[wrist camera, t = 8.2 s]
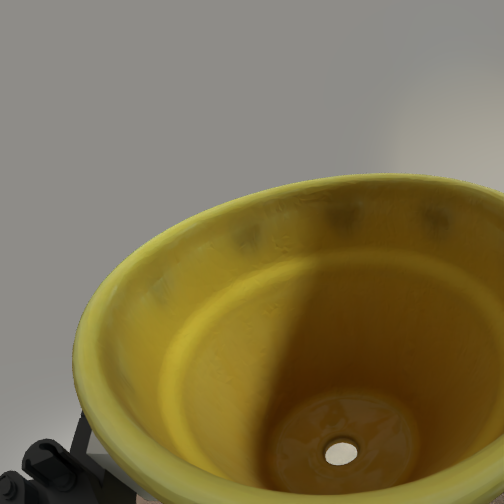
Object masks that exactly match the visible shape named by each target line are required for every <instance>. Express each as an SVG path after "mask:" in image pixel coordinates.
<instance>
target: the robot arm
mask: <svg viewBox="0 0 504 504" xmlns="http://www.w3.org/2000/svg"><path fill="white" fill-rule="evenodd" d="M22 470H23V471H24V472H25V473H27V474H28V475H29V476H31V477H32V478H33V480H26V479H25V478H23V477H22V476H21V475H20V474H19V473H17V472H16V471H7V472H4V473H3V474H2V475H1V476H0V504H136V495H137V494H138V495H139V496H141V497H142V498H144V499H145V500H147V501H158V500H157V499H156V498H154V497H153V496H152V495H150V494H149V493H148V492H146V491H145V490H144V489H143V488H141V487H140V486H139V485H138V484H137V483H136V482H135V481H134V480H132V479H131V478H130V477H129V476H128V475H127V474H126V473H125V472H124V471H123V470H122V469H121V468H120V467H119V466H118V465H117V464H116V463H115V461H114V460H113V459H112V458H111V456H110V455H109V454H108V452H107V451H106V450H105V448H104V447H103V446H102V444H101V443H100V442H99V440H98V439H97V437H96V436H95V435H94V433H93V431H92V429H91V427H90V425H89V423H88V421H87V418H86V416H85V414H84V412H83V410H82V413H81V418H80V419H79V422H78V425H77V428H76V431H75V435H74V438H73V441H72V445H71V448H70V453H69V452H68V451H66V450H65V449H64V448H63V447H62V446H61V445H60V444H59V443H57V442H56V441H55V440H52V439H43V440H39V441H37V442H35V443H34V444H33V445H31V446H30V447H29V449H28V450H27V451H26V452H25V455H24V457H23V460H22Z"/></svg>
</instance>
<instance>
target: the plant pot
mask: <svg viewBox="0 0 504 504" xmlns="http://www.w3.org/2000/svg"><path fill="white" fill-rule="evenodd" d="M72 371H73V378H74V385H75V389H76V393H77V396H78V399H79V402H80V405H81V408H82V410H83V412H84V414H85V416H86V418H87V421H88V423H89V425H90V427H91V429H92V431H93V433H94V435H95V436H96V437H97V439H98V440H99V442H100V443H101V444H102V446H103V447H104V448H105V450H106V451H107V452H108V454H109V455H110V456H111V458H112V459H113V460H114V461H115V463H116V464H117V465H118V466H119V467H120V468H121V469H122V470H123V471H124V472H125V473H126V474H127V475H128V476H129V477H130V478H131V479H132V480H134V481H135V482H136V483H137V484H138V485H139V486H140V487H141V488H143V489H144V490H145V491H146V492H148V493H149V494H150V495H152V496H153V497H154V498H156V499H157V500H158V501H160V502H161V503H163V504H489V503H490V502H492V501H493V500H494V499H496V498H497V497H498V496H500V495H501V494H502V493H504V193H502V192H499V191H497V190H494V189H491V188H488V187H484V186H481V185H477V184H473V183H470V182H466V181H460V180H456V179H451V178H445V177H438V176H430V175H421V174H398V173H375V174H355V175H343V176H335V177H327V178H320V179H314V180H307V181H302V182H297V183H292V184H288V185H284V186H279V187H275V188H271V189H267V190H263V191H260V192H257V193H253V194H250V195H247V196H244V197H240V198H237V199H234V200H231V201H229V202H226V203H223V204H220V205H218V206H215V207H213V208H210V209H208V210H205V211H203V212H201V213H199V214H197V215H195V216H192V217H189V218H187V219H186V220H184V221H182V222H180V223H178V224H176V225H174V226H172V227H171V228H169V229H167V230H165V231H164V232H162V233H161V234H159V235H157V236H156V237H154V238H152V239H151V240H149V241H148V242H147V243H145V244H144V245H142V246H141V247H139V248H138V249H137V250H135V251H134V252H133V253H131V254H130V255H129V256H128V257H127V258H125V260H123V261H122V262H121V263H120V264H119V265H118V266H117V267H116V268H115V269H114V270H113V271H112V272H111V273H110V274H109V275H108V276H107V277H106V279H105V280H104V281H103V282H102V283H101V284H100V285H99V287H98V288H97V290H96V291H95V293H94V294H93V296H92V297H91V299H90V301H89V302H88V304H87V306H86V308H85V310H84V312H83V314H82V316H81V319H80V321H79V324H78V327H77V331H76V335H75V340H74V345H73V352H72ZM342 442H343V443H348V444H351V445H353V446H354V447H355V448H356V449H357V457H356V458H355V459H354V460H353V461H351V462H349V463H347V464H344V465H332V464H330V463H328V462H327V461H326V458H325V454H326V452H327V450H328V449H329V448H330V447H331V446H332V445H334V444H337V443H342Z"/></svg>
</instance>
